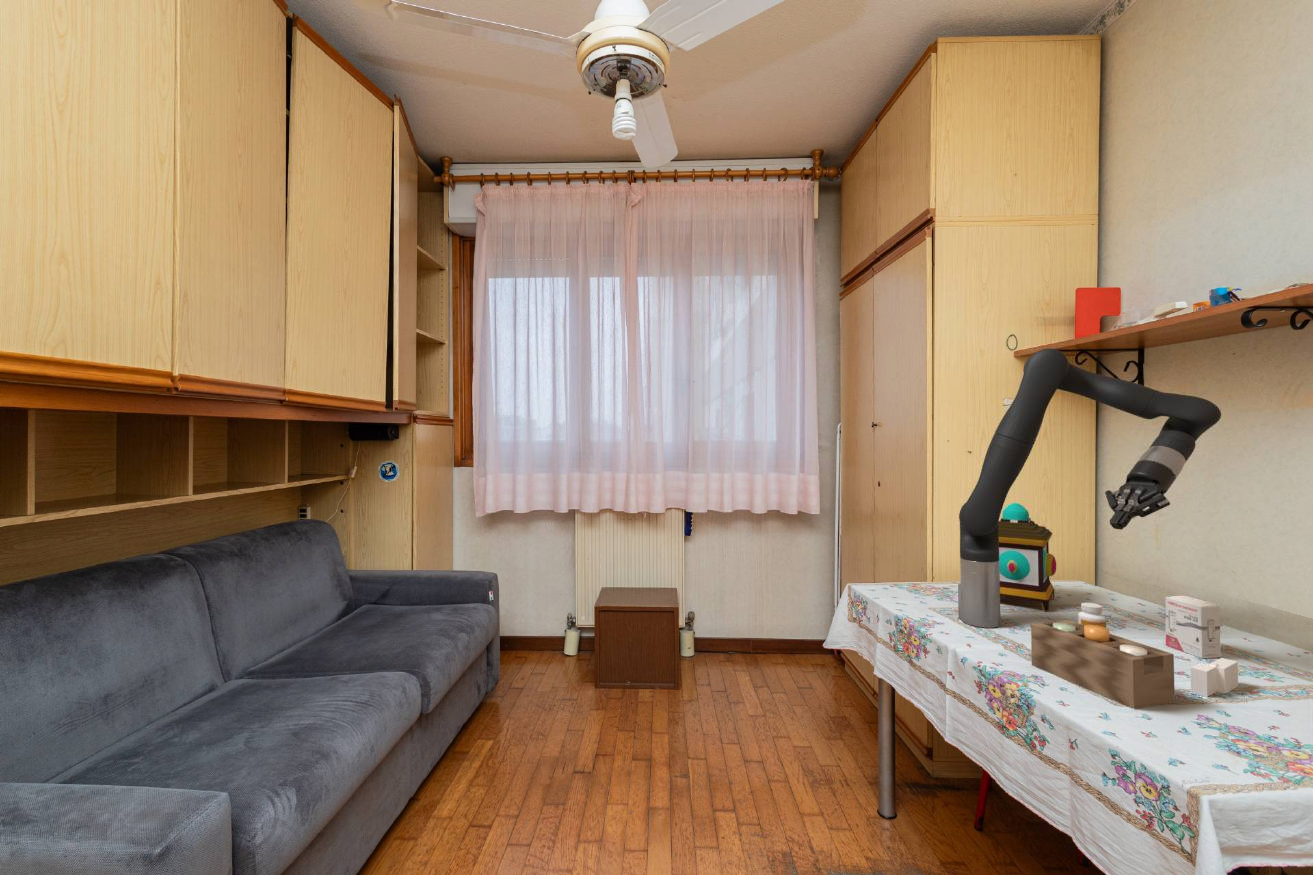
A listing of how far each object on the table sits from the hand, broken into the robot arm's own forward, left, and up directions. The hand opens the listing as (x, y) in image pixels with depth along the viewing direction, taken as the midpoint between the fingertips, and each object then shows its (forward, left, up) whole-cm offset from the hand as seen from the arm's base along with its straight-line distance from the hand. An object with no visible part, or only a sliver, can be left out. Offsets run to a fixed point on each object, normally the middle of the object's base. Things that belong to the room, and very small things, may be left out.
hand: (1115, 526), depth 124 cm
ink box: (0, +22, -30) cm, 37 cm away
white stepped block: (+15, +3, -31) cm, 34 cm away
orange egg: (+7, -15, -22) cm, 27 cm away
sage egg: (0, -15, -24) cm, 28 cm away
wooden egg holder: (+7, -15, -30) cm, 34 cm away
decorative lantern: (-44, +19, -30) cm, 57 cm away
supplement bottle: (-9, +4, -30) cm, 32 cm away
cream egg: (+14, -15, -24) cm, 31 cm away
